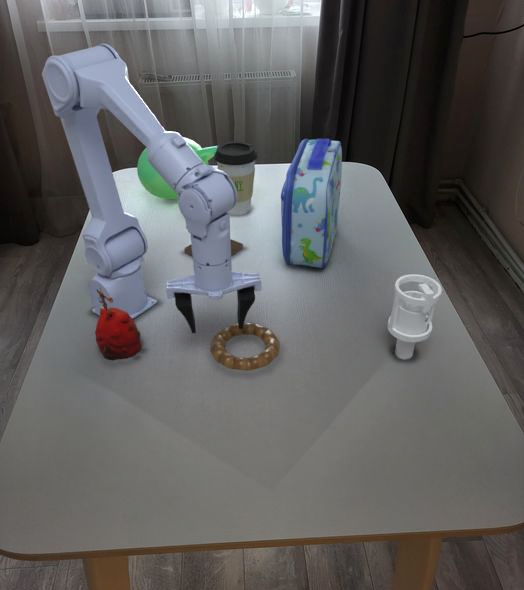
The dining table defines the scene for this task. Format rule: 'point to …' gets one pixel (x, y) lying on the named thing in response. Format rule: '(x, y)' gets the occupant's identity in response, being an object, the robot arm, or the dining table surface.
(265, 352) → the ring
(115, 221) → the robot arm
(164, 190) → the toy bird
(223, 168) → the coffee cup
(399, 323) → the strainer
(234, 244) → the post
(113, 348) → the red rounded lump
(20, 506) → the dining table surface
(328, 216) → the lunch box
